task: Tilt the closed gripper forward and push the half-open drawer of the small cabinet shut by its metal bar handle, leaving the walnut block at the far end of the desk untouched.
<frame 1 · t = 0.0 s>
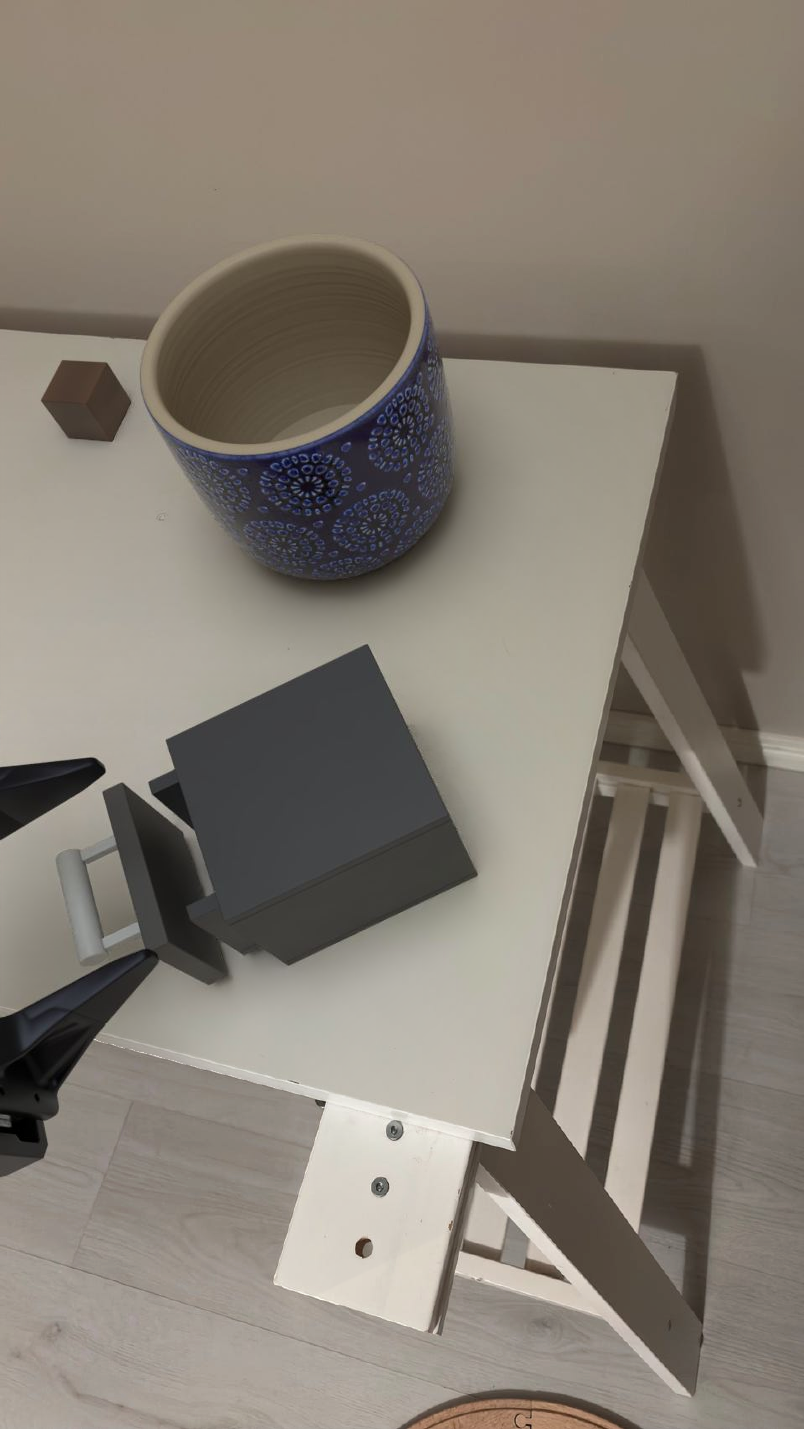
hand: (126, 854, 41), 15 cm above the table, tool horizontal, fingers open, 9 cm apart
cabinet: (349, 838, 56), on the table
walnut block: (99, 419, 76), on the table
drawer: (211, 864, 52), point 5 cm above the table, slide at 3.0 cm
planter: (350, 508, 67), on the table
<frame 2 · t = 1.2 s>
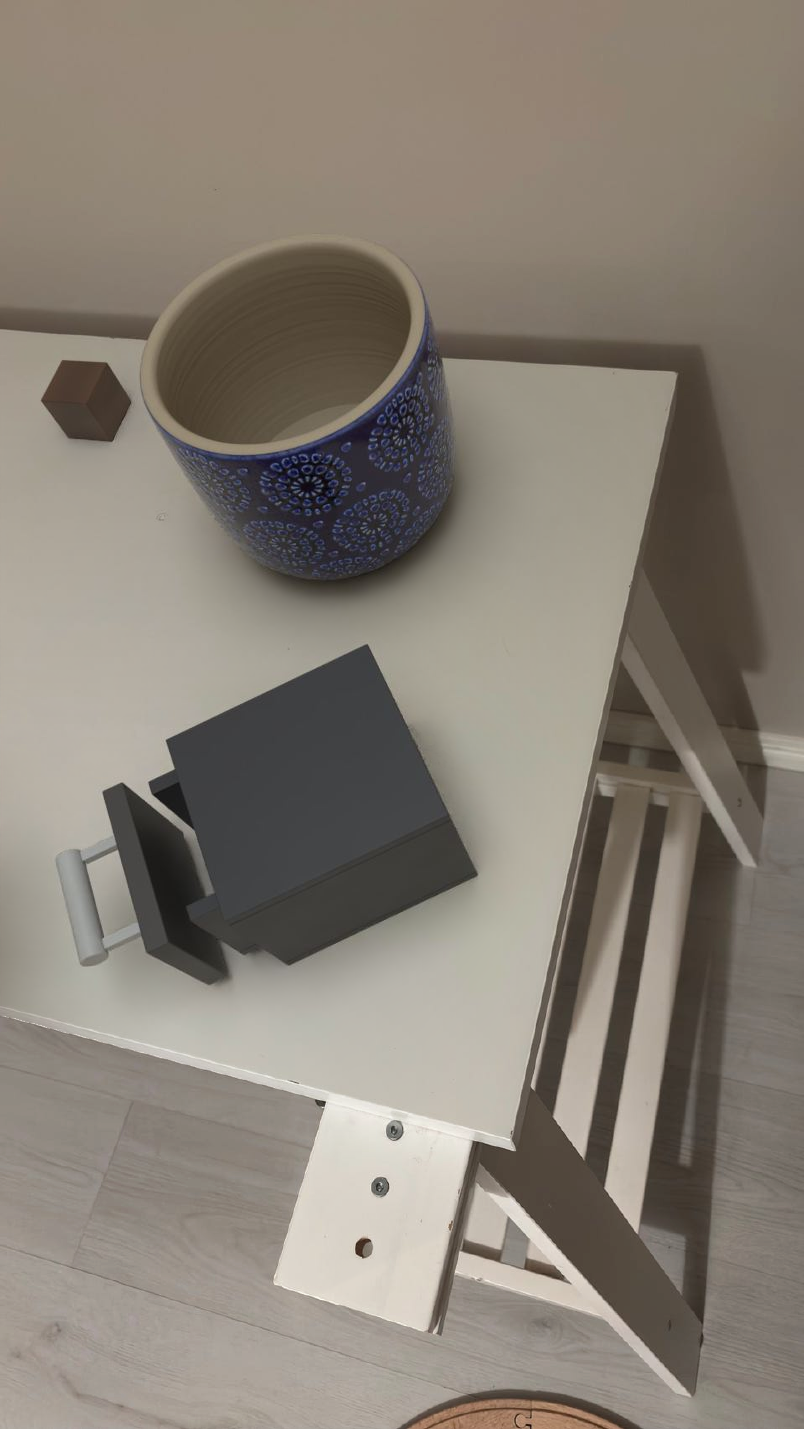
nothing on the table moved.
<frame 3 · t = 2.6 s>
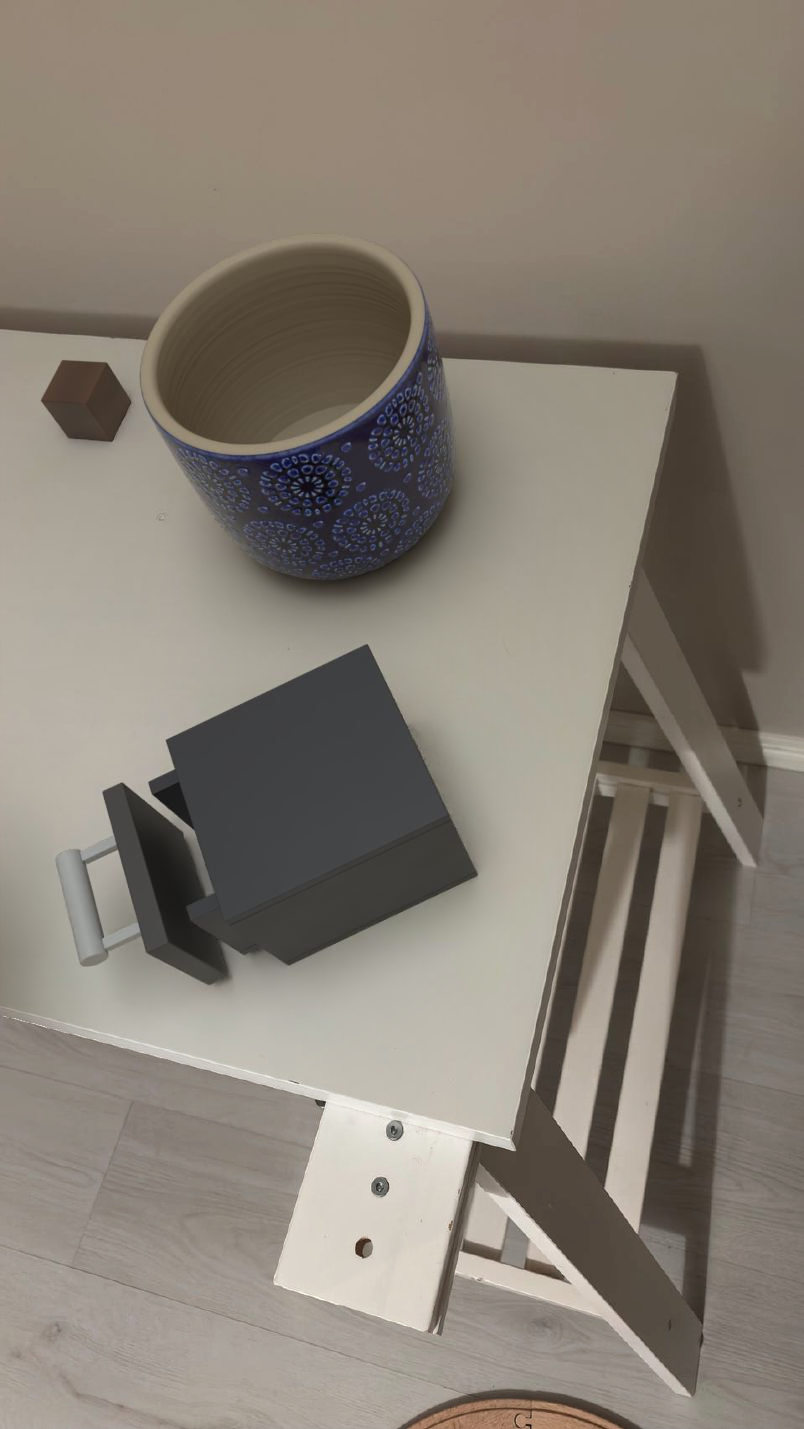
nothing on the table moved.
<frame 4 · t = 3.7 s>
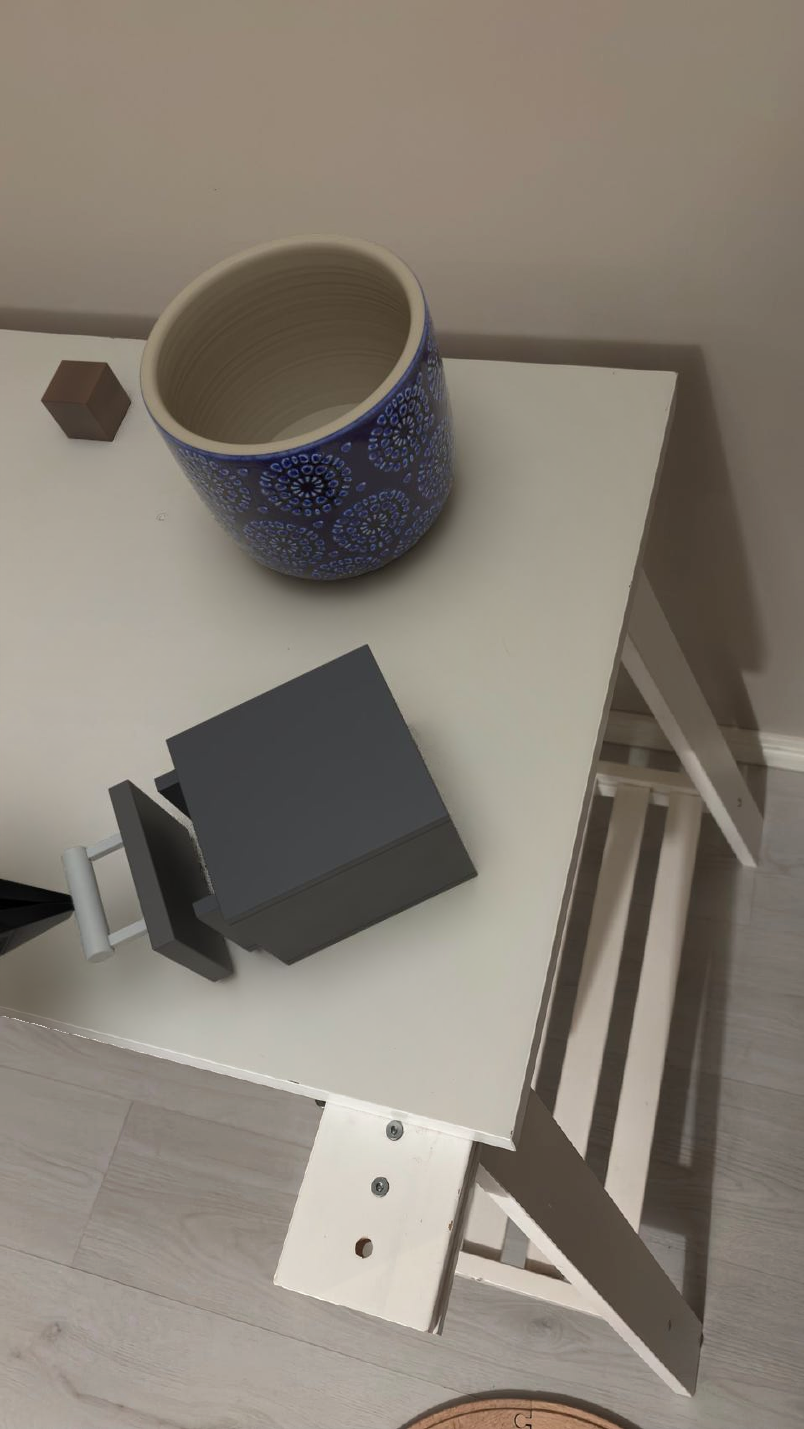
hand: (71, 906, 50), 7 cm above the table, tool tilted 45°, fingers closed, pressing on drawer
drawer: (217, 861, 52), point 5 cm above the table, slide at 2.7 cm, touching gripper
everything else where it was.
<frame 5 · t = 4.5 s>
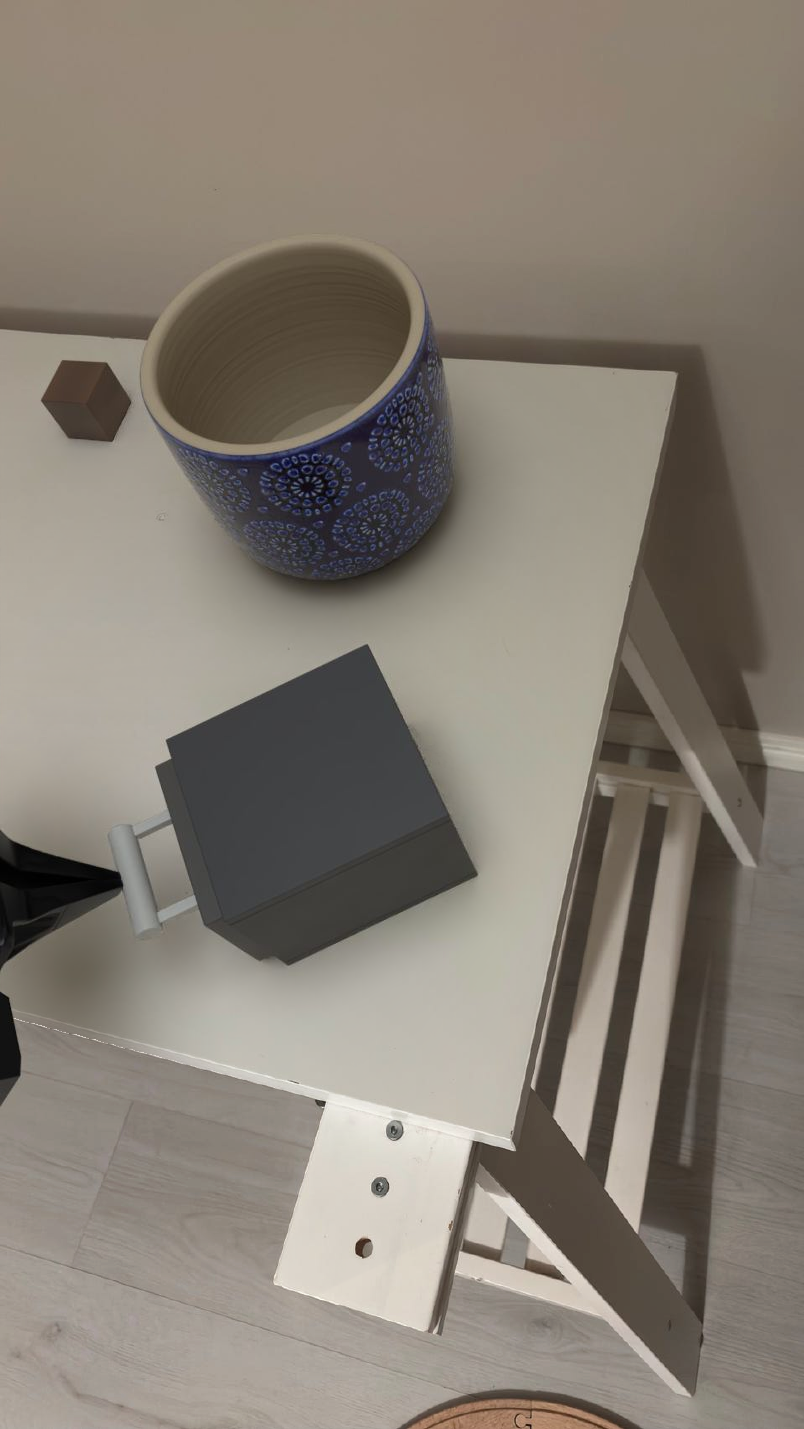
hand: (120, 883, 50), 7 cm above the table, tool tilted 45°, fingers closed, pressing on drawer
drawer: (263, 839, 52), point 5 cm above the table, slide at 0.0 cm, touching cabinet, gripper
everything else where it was.
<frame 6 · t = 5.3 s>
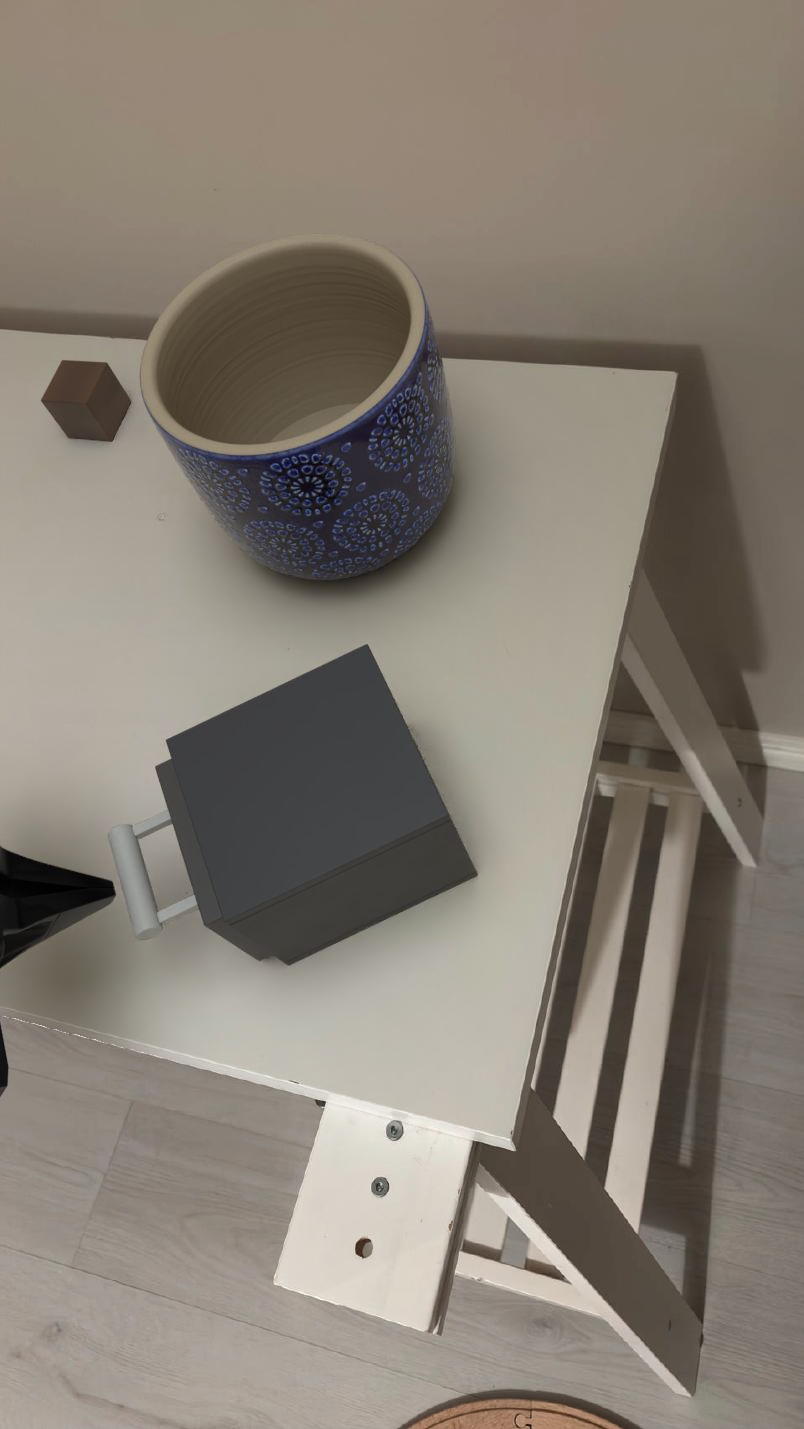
hand: (112, 892, 50), 7 cm above the table, tool tilted 45°, fingers closed
drawer: (263, 839, 52), point 5 cm above the table, slide at 0.0 cm, touching cabinet
everything else where it was.
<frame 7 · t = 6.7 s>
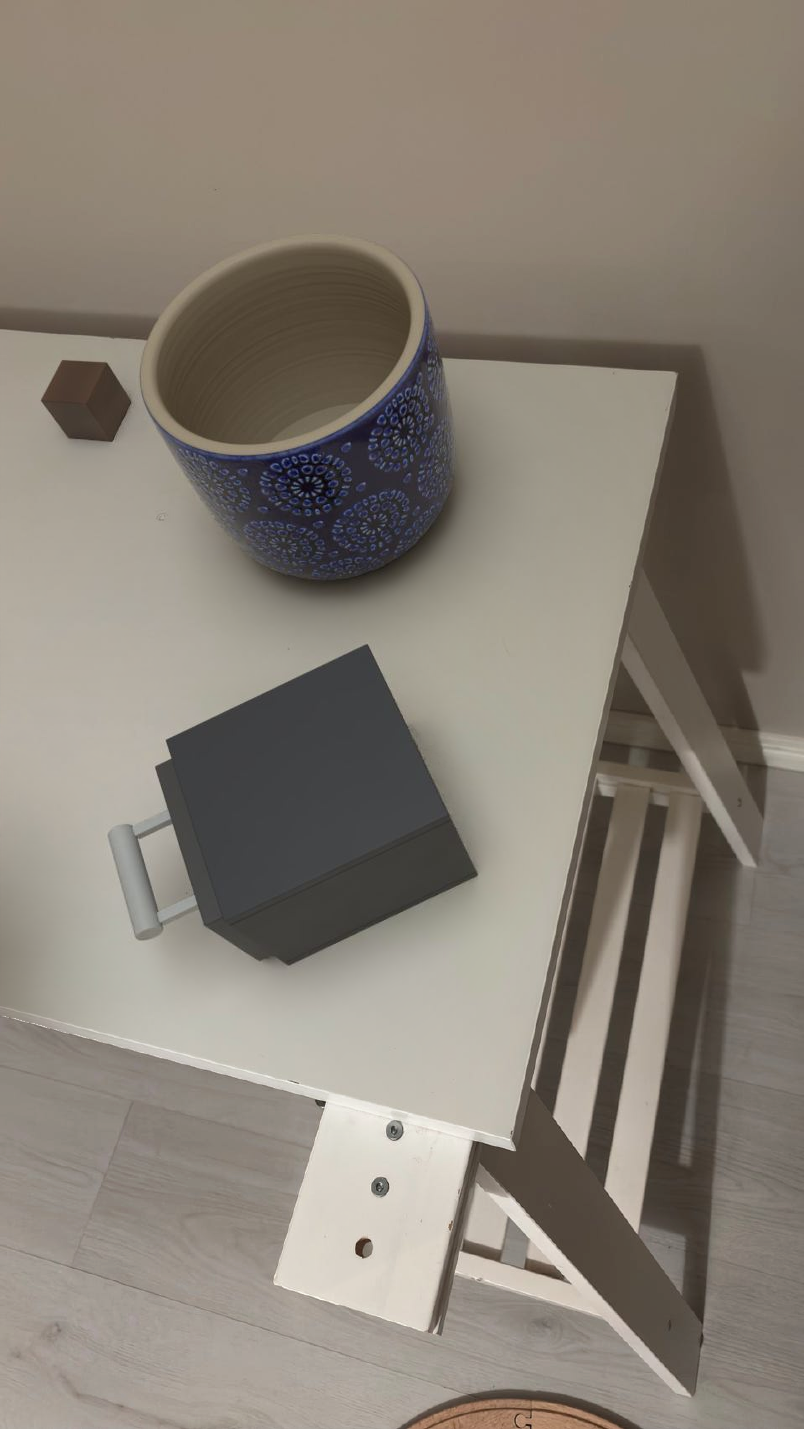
nothing on the table moved.
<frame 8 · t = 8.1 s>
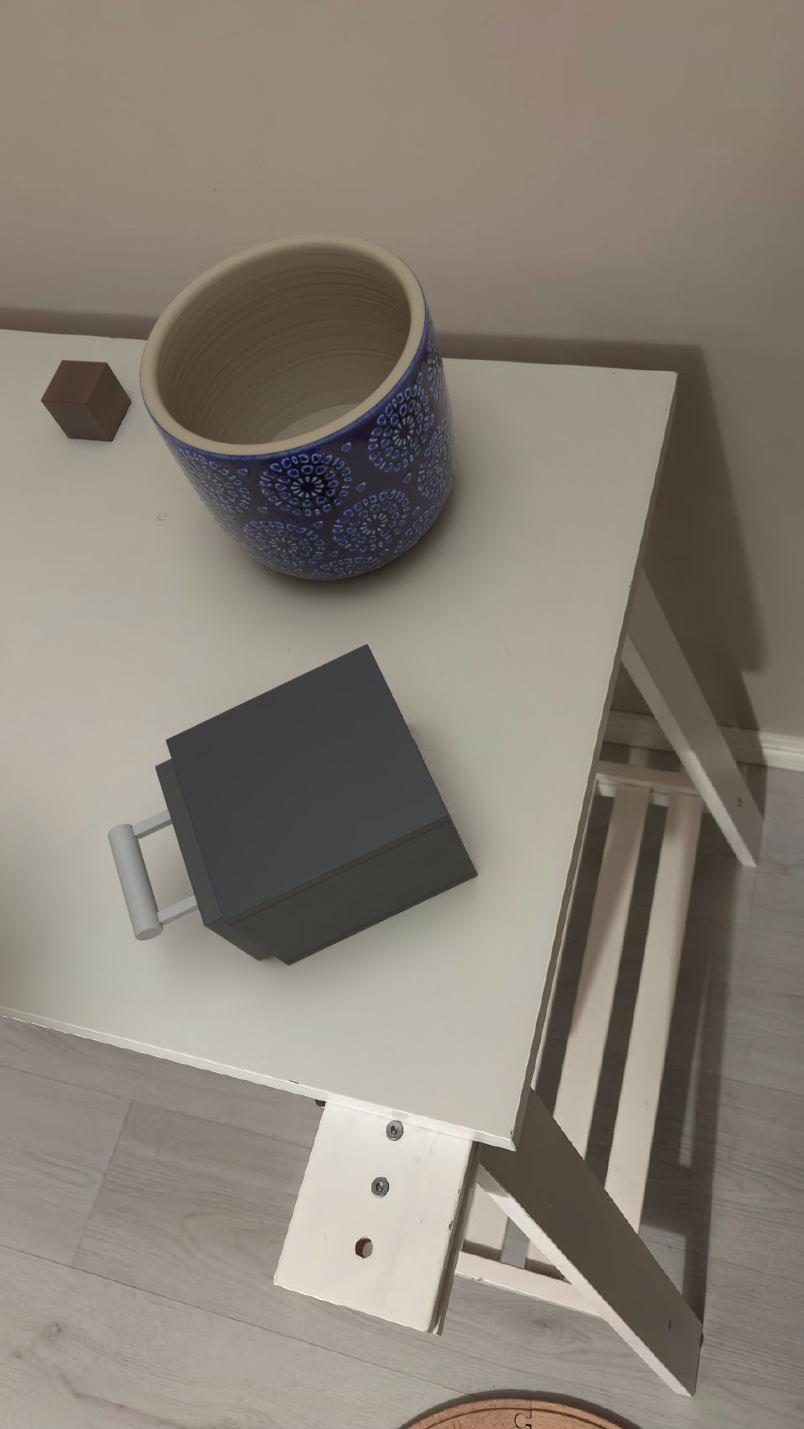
nothing on the table moved.
at the end: drawer slide at 0.0 cm; walnut block moved 0.0 cm from its start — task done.
